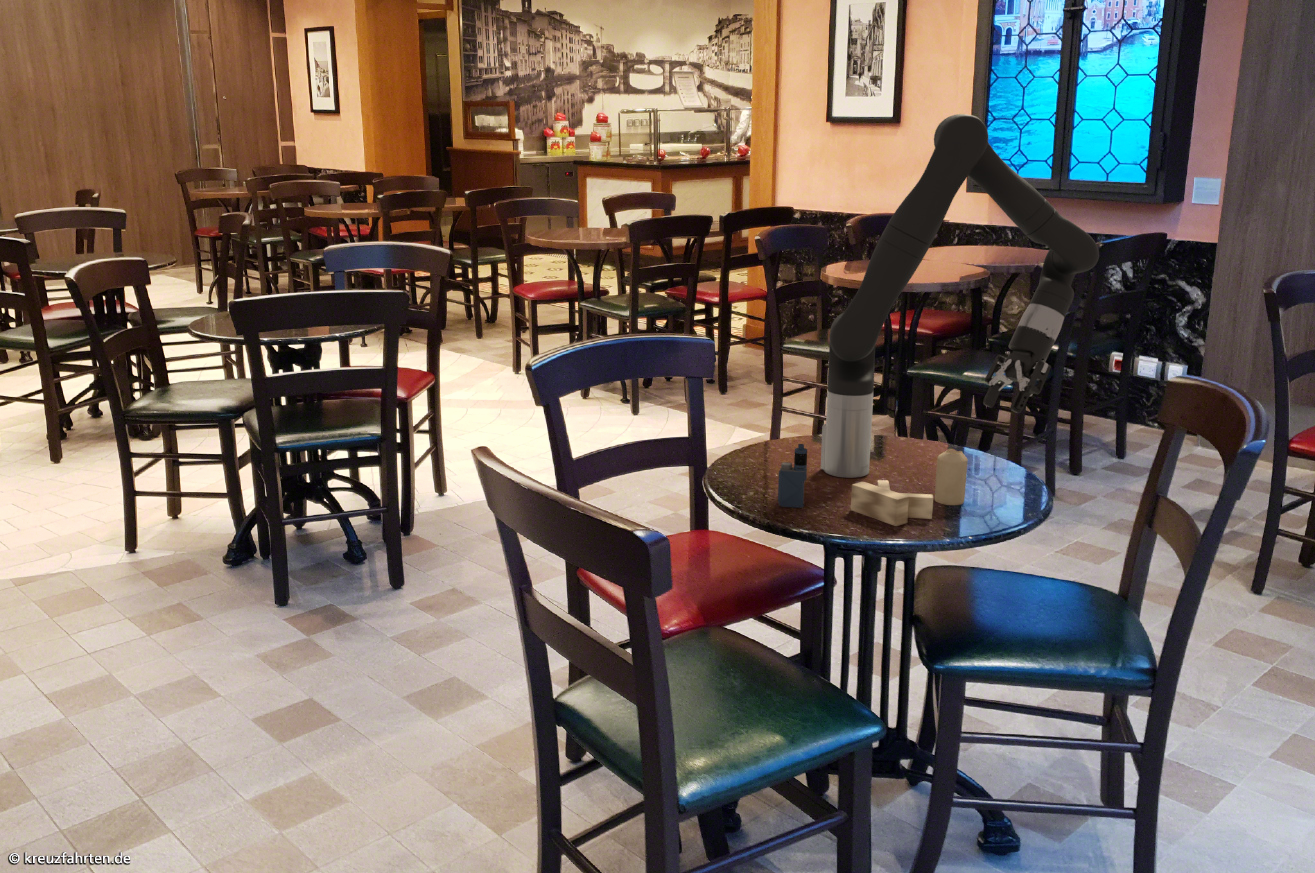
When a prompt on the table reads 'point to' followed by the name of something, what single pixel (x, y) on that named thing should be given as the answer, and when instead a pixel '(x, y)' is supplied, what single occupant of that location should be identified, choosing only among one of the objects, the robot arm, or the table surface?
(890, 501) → the letter k block
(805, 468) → the vaping device
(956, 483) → the candle
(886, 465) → the table surface
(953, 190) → the robot arm
